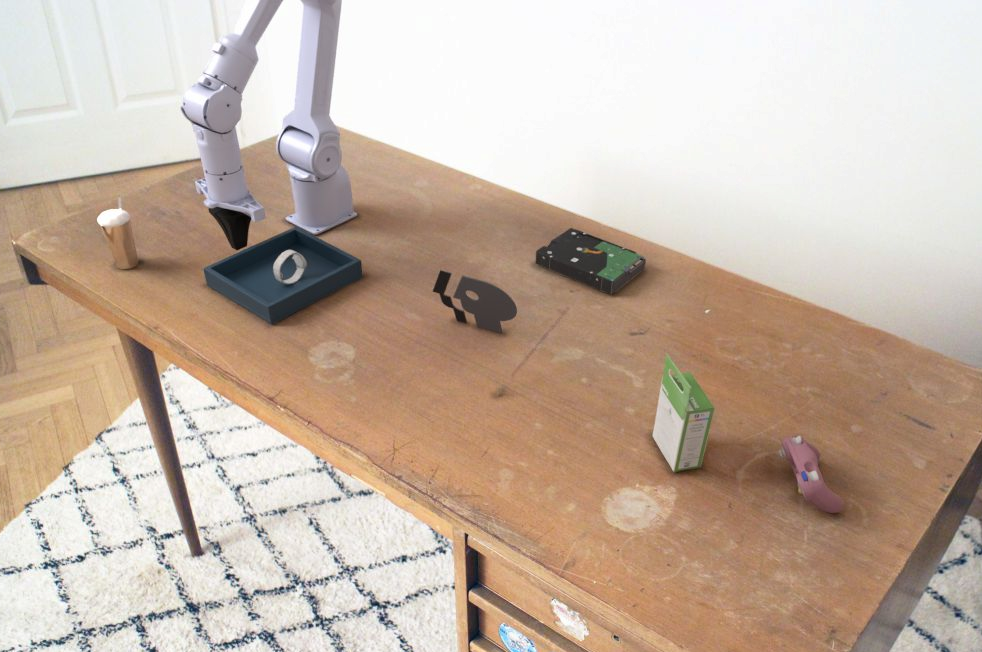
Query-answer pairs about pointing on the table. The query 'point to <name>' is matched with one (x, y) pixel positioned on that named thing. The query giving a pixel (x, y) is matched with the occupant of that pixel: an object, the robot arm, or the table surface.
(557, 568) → the table surface
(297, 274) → the wristwatch
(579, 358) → the table surface
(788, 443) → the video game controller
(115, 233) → the milkshake
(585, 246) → the disk drive
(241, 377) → the table surface
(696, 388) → the ink box
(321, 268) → the tray
